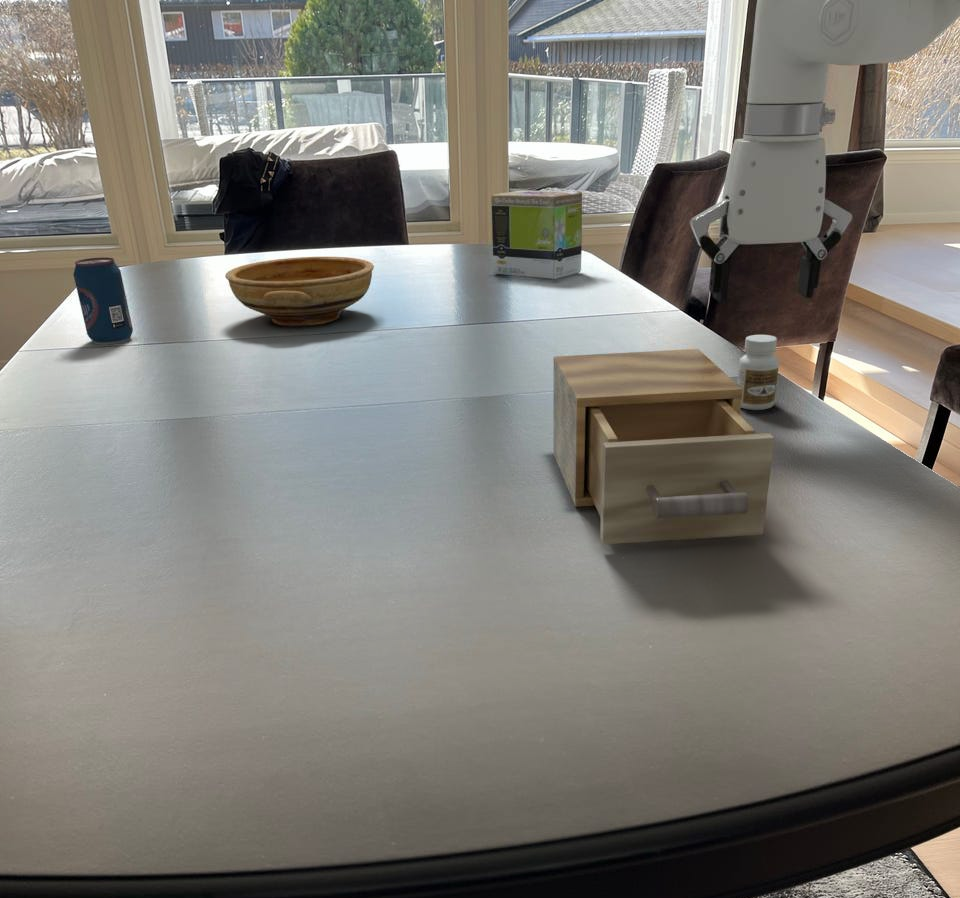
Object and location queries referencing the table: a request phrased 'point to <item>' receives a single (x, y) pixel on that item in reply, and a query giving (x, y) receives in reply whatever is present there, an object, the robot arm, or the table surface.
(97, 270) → the soda can
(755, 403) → the pill bottle
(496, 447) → the table surface
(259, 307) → the ceramic bowl
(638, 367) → the cabinet
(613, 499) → the drawer
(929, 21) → the robot arm
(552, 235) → the tea box
